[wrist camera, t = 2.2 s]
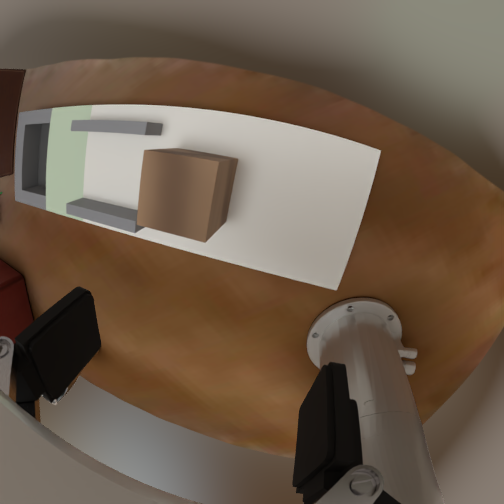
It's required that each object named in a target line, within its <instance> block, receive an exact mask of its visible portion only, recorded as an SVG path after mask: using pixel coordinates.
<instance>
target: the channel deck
mask: <svg viewBox="0 0 504 504" xmlns="http://www.w3.org/2000/svg"><path fill="white" fill-rule="evenodd" d="M167 148H180V149H187V150H193V151H200V152H206V153H211V154H217V155H222V156H228V157H233V158H238V163H237V168H236V173H235V178H234V183H233V189H232V194H231V199H230V204H229V210H228V215H227V220H226V223H225V224H224V225H223V226H222V227H221V228H220V229H219V230H218V231H217V232H216V233H215V234H214V235H213V236H212V237H211V238H210V239H209V240H208V241H207V242H206V243H204V242H200V241H196V240H192V239H189V238H185V237H181V236H177V235H174V234H170V233H166V232H162V231H158V230H155V229H151V228H147V227H143V226H140V225H137V213H138V200H139V189H140V179H141V170H142V162H143V154H144V150H150V149H167ZM380 152H381V151H380V150H378V149H375V148H372V147H369V146H366V145H363V144H360V143H357V142H354V141H351V140H348V139H344V138H341V137H338V136H334V135H331V134H327V133H324V132H320V131H316V130H312V129H308V128H304V127H300V126H296V125H292V124H288V123H283V122H278V121H274V120H269V119H264V118H258V117H253V116H247V115H241V114H235V113H228V112H221V111H214V110H205V109H196V108H186V107H174V106H158V105H85V106H70V107H59V108H49V109H41V110H34V111H27V112H21V113H19V120H18V129H17V139H16V153H15V201H18V202H22V203H25V204H28V205H31V206H34V207H38V208H41V209H44V210H47V211H51V212H54V213H57V214H60V215H64V216H67V217H70V218H74V219H77V220H80V221H84V222H87V223H91V224H94V225H97V226H101V227H104V228H108V229H111V230H114V231H118V232H121V233H125V234H128V235H132V236H135V237H139V238H142V239H146V240H149V241H153V242H156V243H160V244H164V245H167V246H171V247H174V248H178V249H181V250H185V251H189V252H192V253H196V254H200V255H203V256H207V257H211V258H214V259H218V260H222V261H225V262H229V263H233V264H236V265H240V266H244V267H248V268H251V269H255V270H259V271H263V272H267V273H270V274H274V275H278V276H282V277H286V278H290V279H294V280H297V281H301V282H305V283H309V284H313V285H317V286H321V287H325V288H329V289H333V290H337V288H338V286H339V283H340V281H341V278H342V275H343V273H344V270H345V267H346V265H347V262H348V259H349V256H350V253H351V250H352V248H353V245H354V242H355V239H356V236H357V233H358V230H359V227H360V223H361V220H362V217H363V214H364V211H365V207H366V204H367V201H368V197H369V194H370V190H371V187H372V183H373V180H374V176H375V172H376V168H377V164H378V160H379V156H380Z"/></svg>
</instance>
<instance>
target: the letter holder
mask: <svg viewBox="0 0 504 504" xmlns="http://www.w3.org/2000/svg"><path fill="white" fill-rule="evenodd" d="M24 75H25V70H22V69H21V70H20V69H0V177H3V176H7V175H11V174H13V155H14V139H15V128H16V120H17V113H18V106H19V100H20V94H21V89H22V84H23V79H24Z"/></svg>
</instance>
